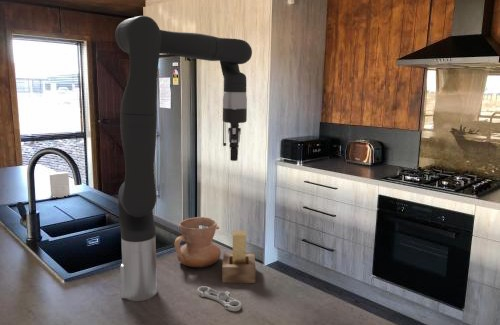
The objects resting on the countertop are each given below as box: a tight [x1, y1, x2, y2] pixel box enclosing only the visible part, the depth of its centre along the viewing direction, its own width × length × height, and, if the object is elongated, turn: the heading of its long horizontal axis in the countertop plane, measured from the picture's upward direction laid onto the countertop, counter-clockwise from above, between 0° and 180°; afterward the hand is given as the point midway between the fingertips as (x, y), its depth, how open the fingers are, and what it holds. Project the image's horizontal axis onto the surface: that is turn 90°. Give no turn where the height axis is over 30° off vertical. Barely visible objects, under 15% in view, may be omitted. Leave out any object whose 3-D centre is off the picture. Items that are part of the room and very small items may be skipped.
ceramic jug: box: [174, 216, 222, 268], centre depth 137 cm, size 18×14×14 cm
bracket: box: [197, 285, 242, 312], centre depth 114 cm, size 8×2×15 cm
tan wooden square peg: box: [232, 230, 247, 264], centre depth 128 cm, size 4×4×14 cm
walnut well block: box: [221, 253, 256, 284], centre depth 129 cm, size 10×10×5 cm
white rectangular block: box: [49, 171, 71, 198], centre depth 216 cm, size 9×9×12 cm
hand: (234, 158), depth 130 cm, fingers open, 8 cm apart
